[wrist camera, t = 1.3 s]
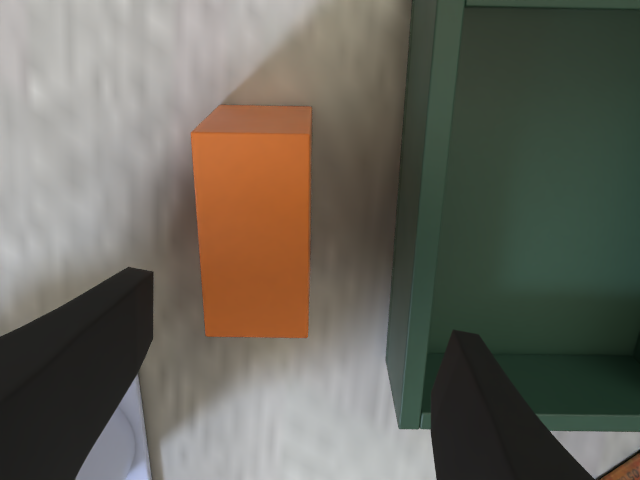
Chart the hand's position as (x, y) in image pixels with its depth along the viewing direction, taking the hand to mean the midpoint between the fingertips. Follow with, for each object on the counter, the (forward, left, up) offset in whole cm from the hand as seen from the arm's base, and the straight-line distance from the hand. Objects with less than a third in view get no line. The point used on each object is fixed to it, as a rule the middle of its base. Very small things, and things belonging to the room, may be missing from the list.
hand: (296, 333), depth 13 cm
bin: (+9, 0, -10) cm, 14 cm away
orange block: (-2, 0, -10) cm, 10 cm away
